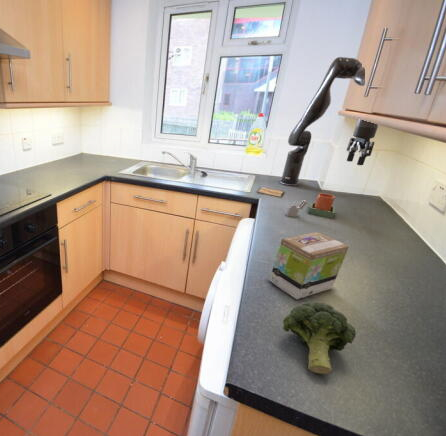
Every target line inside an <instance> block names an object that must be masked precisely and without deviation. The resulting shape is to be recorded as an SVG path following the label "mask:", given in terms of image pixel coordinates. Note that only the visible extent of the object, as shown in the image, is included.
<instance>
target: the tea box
mask: <svg viewBox="0 0 446 436" xmlns="http://www.w3.org/2000/svg"><path fill="white" fill-rule="evenodd" d="M349 246H350V245H347V244H345V243H343V242H341V241H338V240H336V239H333V238H332V237H329V236H327V235H325V234H323V233H320V232H318V231H314V232H309V233H304V234H298V235H295V236H288V237H284V238H282V239H281V242H280V245H279V248H278V251H277V254H276V257H275V260H274V264H273V267H272V271H271V273H270V275H269V282H270V283H272V284H273V285H274V286H276V287H278V288H279V289H280V290H282V291H283V292H285V293H286V294H288V295H290V297H292V298H294V299H295V300H299V299H301V298H305V297H308V296H313V295H315V294H319V293H321V292H325V291H328V290H331V289H332V288H333V287H334V284H335V282H336V280H337V277H338V274H339V272H340V270H341V267H342V265H343V263H344V259H345V258H346V255H347V252H348V250H349Z"/></svg>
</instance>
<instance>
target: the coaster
mask: <svg viewBox="0 0 446 436" xmlns="http://www.w3.org/2000/svg"><path fill="white" fill-rule="evenodd" d="M283 193H284V190H280V189H275V188H269V187H264V186H263V187H260V188H259V190H258V191H257V194H262V195H267V196H273V197H278V198H281V197H282V196H283Z"/></svg>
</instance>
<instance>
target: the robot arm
mask: <svg viewBox="0 0 446 436" xmlns="http://www.w3.org/2000/svg"><path fill="white" fill-rule="evenodd" d="M362 64H363V63H362V62H361V61H360V60H359V59H357V58H353V57H345V56H338V57H335V59H333V60H332V62H331V64H330V66H329V67H328V68H327V71H326V73H325V76H324V78H323V79H322V82H321V83H320V85H319V87H318V89H317V90H316V92H315V94H314V95H313V97H312V99H311V100H310V103H309V104H308V106H307V107H306V109H305V111H304V113H303V114H302V116H301V118H300V120H299V121H298V122H297V124H296V125H295V127H294V128H293V129H292V131H291V132H290V134H289V136H288V139H287V144H288V145H289V146H292V147H295V149H292V150H290V151H288V153H287V155H286V159H285V163H284V167H283V172H282V176H281V179H280V184H282V185H285V186H291V187H293V186H297V185H298V182H299V178H300V174H301V171H302V168H303V163H304V159H305V156H306V155H307V152H308V149H309V147H310V144H311V140H312V132H311V131H309V130H306V129H308V127H309V126H311V125H312V124H314V123H315V122H317V121H318V120H320V119H321V118H322V117H323V116H324V115H325V113H326V112H327V110H328V109H329V108H330V105H331V103H332V96H331V87H332V84H333V83H334V81H335V80H336V79H340V80H341V79H343V80H346V79H347V80H348V79H349V80H350V79H351V80H353V82H354V83H355V84H356V85H357V86H359V87H361V86H364V85H365V68H364V67H362ZM378 128H379V125H377V124H374V123H371V122H367V121H364V120H361V119H359V118H358V119H357V122H356V124H355V127H354V131H353V134H352V136H353V137H350V139H349V142H348V145H347V147H346V151H347V153H348V154H347V157H346V161H347V162H353V161H354V157H355V155H356V154H355V153H356V152H357V151H358V153H359V156H358V160H357V162H356V165H357V166H364V164H365V161H366V158H367V157H371V156H372V152H373V149H374V146H375V141H371V139H374V138H375V137H376V134H377V130H378Z"/></svg>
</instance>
